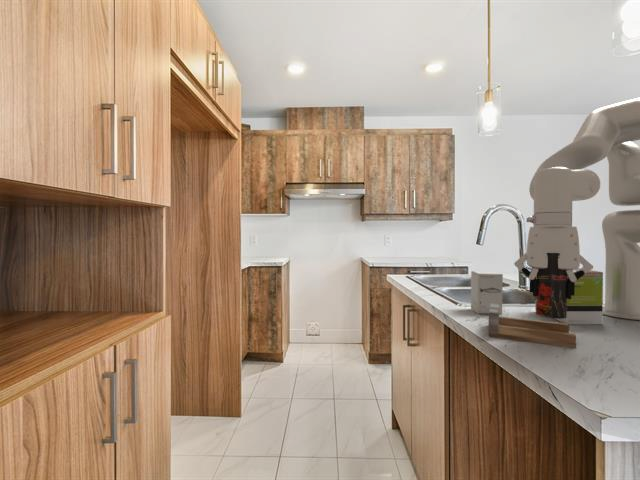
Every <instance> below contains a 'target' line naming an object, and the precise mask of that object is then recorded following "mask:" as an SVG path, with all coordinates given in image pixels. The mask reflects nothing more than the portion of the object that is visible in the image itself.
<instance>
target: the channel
mask: <svg viewBox="0 0 640 480" xmlns="http://www.w3.org/2000/svg"><path fill="white" fill-rule="evenodd" d="M488 337H490V338H497V339H498V338H499V339H504V340H505V339H507V340H512V341H521V342H527V343H528V342H529V343H535V344H544V345H550V346H557V347H564V348H565V347H566V348H571V349H572V348H573V349H577V335H576V333H572V332H571V333H570V324H566V323H563V322H556V321H555V322H554V321H548V320H547V321H546V320H536V319H528V318H520V317H519V318H516V317H508V316H502V315H501V316H500V314H499V304H492V303H491V305H490V309H489V314H488Z"/></svg>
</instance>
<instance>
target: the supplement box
mask: <svg viewBox="0 0 640 480" xmlns="http://www.w3.org/2000/svg"><path fill="white" fill-rule="evenodd" d="M503 277H504V274H503V273H500V272H498V271H481V270H475V271H474V270H471V273H470V279H471V281H470V283H471V284H470V287H471V288H470V309H471V310H472V311H473V312H475V313H476V314H477V315H478V314H485V315H487V314H488V315H489V309H490V305H491V303H492V304H499V316H500V315H501V316H502V315H503V284H504V283H503V279H504V278H503Z"/></svg>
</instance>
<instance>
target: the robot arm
mask: <svg viewBox="0 0 640 480" xmlns="http://www.w3.org/2000/svg"><path fill="white" fill-rule="evenodd" d="M636 141H640V97H637V98H633V99H629V100H625V101H621V102H617V103H613V104H610V105H606V106H603V107H600V108H597V109H595V110H593V111H592V112H590V113H589V114H588V115H587V117H586V118H585V119H584V121H583V123H582V124H581V126H580V128H579V130H578V131H577V133H576V135H575V137H574V138H573V140H572V142H570V143H568V144H567V145H565V146H564V147H562V148H561V149H559V150H557V151H556V152H555V153H553V154H552V155H550V156H549V157H548V158H546V159H545V160H544V161H542V163H541V164H540V165H539V166H538V168H537V170H536V171H535V173H534V175H533V177H532V178H531V180H530V183H529V188H528V189H529V190H528V191H529V195H530V197H531V199H532V200H533V214H532V215H530V216H526V223H532V224H533V226H530V227H529V230H528V236H527V241H526V243H527V244H526V252H525V253H524V254H522V256H521V257H519V258H518V259H517V260H515V262H514V263H513V265H514V266H515V267H516V268H517V269H518V270H519V271H521V272H522V273H523V274H524V276H526V277H527V278H528V279H529V293H532V297H536V296H537V279H536V277H535V276H536V274H537V272H538V270H539V269H545V268H547V265H548V258H547V257H548V255H547V253H560V256H558V257H560V258H558V268H559V269H562V270H566V272H567V277H568V278H567V299H571V295H574V291H575V282H576V281H577V280H578V279H579V278H580V277H582V276H583V275H584V274H585V273H587V272H589V271H590V270H593V269H594V265H592V264H591V263H590V262H589V261H588V260H587V259H586V258H584V256H582V255H581V253H580V239H579V232H578V228H577V226H573V202H576V201H577V202H579V201H586V200H590V199H592V198H594V197H595V196H596V195H597V194H598V193H599V190H600V189H601V179H600V177H599V174H597V173H596V172H594V171H593V170H591V169H587V168H588V167H590V166H593V165H595V164H597V163H599V162H600V161H603V160H604V159H605V158H607V161H608V197H609V201H610V203H611V204H613V205H615V206H619V207H631V206H640V146H639V145H638V144H637V143H634V142H636ZM601 229H602V234H603V240H604V248H605V268H604V269H605V272H604V273H605V274H604V275H605V277H604V279H605V281H604V282H605V283H604V284H605V285H604V289H605V290H604V306H603V310H602V314H603V315H605V316H608V317H612V318H619V319H626V320H635V321H640V245H639V244H640V209H631V210H629V209H628V210H627V209H626V210H619V211H612V212H610V213H608V214H606V215H605V216H604V218H603V220H602V223H601ZM638 243H639V244H638ZM525 262H526V264H527V266H528V267H529V268H531V269H528V268H527V267H525V266H524V264H523V263H525ZM580 264H581V265H582V267H581V269H580V270H578V271H576V272H575V273H574V272H573V270H574V269H577V268H580V266H581V265H580Z"/></svg>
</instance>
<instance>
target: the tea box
mask: <svg viewBox="0 0 640 480" xmlns="http://www.w3.org/2000/svg"><path fill="white" fill-rule="evenodd" d="M581 268H582V267H581ZM581 268H580V267H579V268H577V269H574V270H573V272H574V273H575V272H576V271H578V270H580V269H581ZM535 277H536V279H537V274H536V276H535ZM603 277H604V272H603V271H598V270H593V269H591V270H590V271H589V272H587V273H585V274H584V275H583V276H582V277H580V278H579V279H578V280H577V281H576V282H575V291H574V295H571V299H567V315H566V318H563V319H557V318H553V319H554V320H557V321H558V322H560V323H566V324H569V325H603V315H604V314H602V310H603V307H604V306H603V304H604V303H603V300H604V299H603V298H604V295H603V293H604V292H603V291H604V278H603ZM567 278H568V277H567ZM534 301H535V303H534V304H535V311H536V297H535V299H534Z"/></svg>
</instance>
